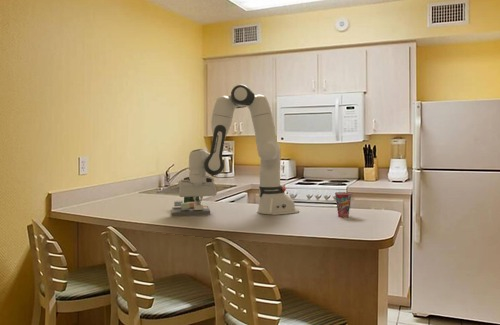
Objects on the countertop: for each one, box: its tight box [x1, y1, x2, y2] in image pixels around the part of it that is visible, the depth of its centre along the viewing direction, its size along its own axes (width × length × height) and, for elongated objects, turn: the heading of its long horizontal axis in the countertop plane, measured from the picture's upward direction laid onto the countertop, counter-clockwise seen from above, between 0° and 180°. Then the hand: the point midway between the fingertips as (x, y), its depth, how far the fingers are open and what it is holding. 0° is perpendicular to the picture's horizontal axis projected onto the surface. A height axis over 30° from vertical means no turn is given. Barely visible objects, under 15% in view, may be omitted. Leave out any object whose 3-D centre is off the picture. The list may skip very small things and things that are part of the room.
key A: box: [194, 203, 204, 210], centre depth 240 cm, size 4×4×2 cm
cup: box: [334, 191, 355, 219], centre depth 223 cm, size 9×8×12 cm
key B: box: [180, 202, 190, 209], centre depth 239 cm, size 4×4×2 cm
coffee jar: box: [183, 176, 201, 203], centre depth 259 cm, size 10×8×19 cm
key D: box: [173, 200, 184, 207], centre depth 247 cm, size 4×4×2 cm
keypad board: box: [171, 205, 211, 217], centre depth 244 cm, size 20×18×2 cm
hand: (198, 204), depth 240 cm, fingers closed, pressing on key A
